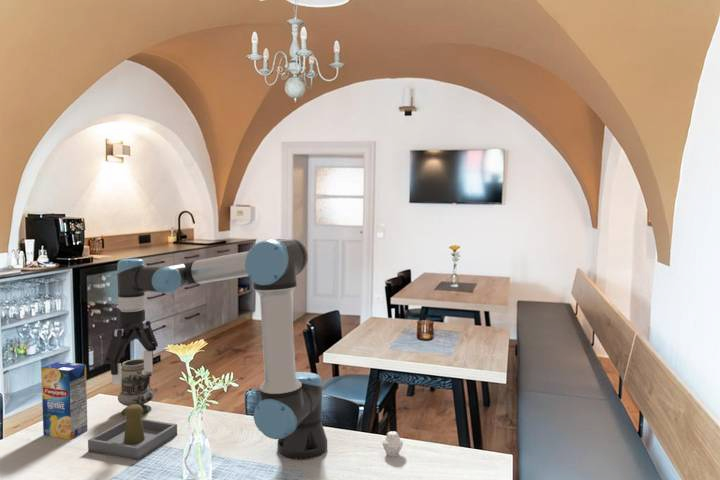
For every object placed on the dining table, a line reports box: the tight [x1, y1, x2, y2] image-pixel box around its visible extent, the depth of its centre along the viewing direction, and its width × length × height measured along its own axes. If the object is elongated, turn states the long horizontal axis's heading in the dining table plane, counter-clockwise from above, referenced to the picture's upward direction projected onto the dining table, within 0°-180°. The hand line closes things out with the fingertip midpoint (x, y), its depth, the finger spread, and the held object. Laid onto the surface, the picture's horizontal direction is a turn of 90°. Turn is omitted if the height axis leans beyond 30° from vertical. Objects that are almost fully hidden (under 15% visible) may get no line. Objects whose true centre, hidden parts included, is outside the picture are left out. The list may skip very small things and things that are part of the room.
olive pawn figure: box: [124, 404, 145, 445], centre depth 164 cm, size 6×6×11 cm
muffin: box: [381, 431, 404, 458], centre depth 158 cm, size 6×6×7 cm
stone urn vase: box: [117, 358, 155, 416], centre depth 188 cm, size 12×12×18 cm
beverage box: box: [40, 361, 89, 440], centre depth 170 cm, size 7×11×22 cm, turn 74°
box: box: [87, 418, 178, 461], centre depth 164 cm, size 18×18×4 cm
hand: (133, 377), depth 163 cm, fingers open, 13 cm apart
